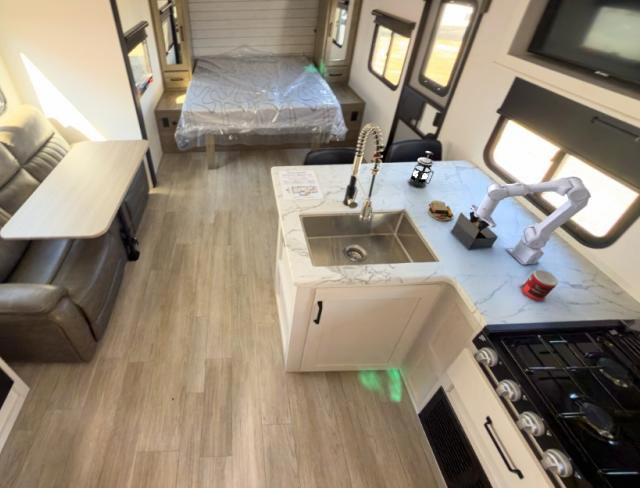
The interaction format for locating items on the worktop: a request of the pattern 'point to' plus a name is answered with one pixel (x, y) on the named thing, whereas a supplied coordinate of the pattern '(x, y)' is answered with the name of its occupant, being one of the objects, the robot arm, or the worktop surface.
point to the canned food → (539, 285)
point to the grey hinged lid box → (481, 240)
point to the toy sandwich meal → (440, 211)
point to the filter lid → (467, 225)
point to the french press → (422, 172)
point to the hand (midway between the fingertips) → (474, 228)
